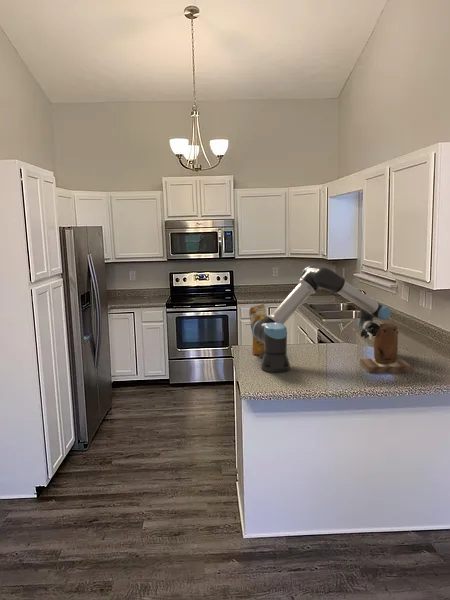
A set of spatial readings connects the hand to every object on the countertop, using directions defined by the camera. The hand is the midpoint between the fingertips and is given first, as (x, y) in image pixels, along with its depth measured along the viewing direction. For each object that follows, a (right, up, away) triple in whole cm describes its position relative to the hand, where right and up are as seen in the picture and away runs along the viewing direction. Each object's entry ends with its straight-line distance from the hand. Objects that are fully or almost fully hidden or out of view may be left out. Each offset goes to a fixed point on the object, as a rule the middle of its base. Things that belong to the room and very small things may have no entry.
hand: (384, 337), depth 247 cm
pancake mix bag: (-63, -12, +35) cm, 73 cm away
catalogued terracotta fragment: (0, -13, -1) cm, 13 cm away
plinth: (0, -16, -1) cm, 16 cm away
